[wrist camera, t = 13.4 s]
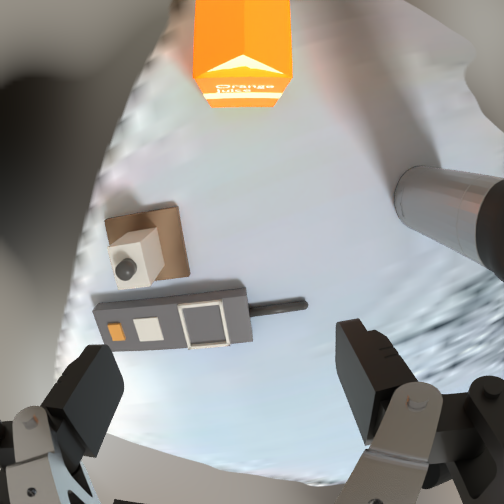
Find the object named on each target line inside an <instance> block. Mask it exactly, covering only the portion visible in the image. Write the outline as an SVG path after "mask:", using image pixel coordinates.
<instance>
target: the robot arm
mask: <svg viewBox="0 0 504 504" xmlns="http://www.w3.org/2000/svg"><path fill="white" fill-rule="evenodd" d="M395 208H396V211H397V214H398V216H399V218H400V220H401V221H402V222H403V223H404V224H405V225H406V226H407V227H409V228H411V229H413V230H415V231H417V232H419V233H421V234H423V235H425V236H427V237H429V238H431V239H433V240H435V241H437V242H439V243H441V244H443V245H445V246H446V247H448V248H450V249H452V250H454V251H456V252H458V253H460V254H462V255H463V256H465V257H467V258H469V259H471V260H473V261H475V262H477V263H478V264H480V265H482V266H484V267H485V268H487V269H489V270H491V271H492V272H494V273H495V275H496V276H497V277H498V278H499V279H500V280H501V281H503V282H504V178H500V177H494V176H489V175H482V174H476V173H470V172H463V171H456V170H449V169H442V168H435V167H426V166H417V167H413V168H411V169H410V170H408V171H407V172H406V173H405V174H404V175H403V176H402V177H401V179H400V180H399V182H398V185H397V187H396V191H395ZM335 361H336V369H337V374H338V377H339V379H340V382H341V384H342V387H343V389H344V392H345V394H346V397H347V400H348V402H349V405H350V407H351V410H352V412H353V415H354V418H355V420H356V423H357V425H358V428H359V431H360V433H361V436H362V439H363V441H364V444H365V446H366V445H370V444H371V445H370V447H369V449H365V451H364V452H363V454H362V455H361V457H360V459H359V461H358V463H357V464H356V466H355V468H354V470H353V472H352V473H351V475H350V477H349V479H348V480H347V482H346V484H345V486H344V487H343V489H342V491H341V492H340V494H339V496H338V497H337V499H336V500H335V502H334V504H415V503H416V501H417V498H418V496H419V493H420V490H421V488H422V485H423V482H424V479H425V476H426V473H427V470H428V466H429V464H437V463H446V465H447V467H448V470H449V472H450V474H451V476H452V479H453V481H454V483H455V485H456V488H457V490H458V492H459V495H460V497H461V500H462V502H463V504H504V380H503V379H501V378H499V377H495V376H483V377H479V378H477V379H476V380H474V381H473V382H472V384H471V386H470V388H469V391H468V392H466V393H456V394H441V393H440V391H439V390H438V389H437V388H436V387H434V386H432V385H431V384H428V383H424V382H418V381H417V379H416V378H415V376H414V375H413V373H412V372H411V370H410V369H409V367H408V366H407V365H406V363H405V362H404V360H403V359H402V357H401V356H400V355H399V354H398V352H397V350H396V349H395V348H393V345H392V343H391V342H390V341H389V339H388V338H387V336H385V335H383V334H382V333H380V332H378V331H376V330H371V331H367V330H366V328H365V327H364V325H363V324H362V322H361V321H360V319H358V318H357V319H352V320H346V321H341V322H337V323H336V355H335ZM123 392H124V381H123V377H122V375H121V373H120V370H119V368H118V366H117V363H116V361H115V358H114V356H113V353H112V351H111V349H110V347H109V346H108V345H106V344H104V345H88V346H87V347H86V348H85V349H84V351H83V352H82V353H81V355H80V356H79V358H77V359H76V360H74V361H73V362H72V363H71V364H69V365H68V366H67V368H66V369H65V371H64V372H63V373H62V376H60V378H59V379H58V381H57V383H55V385H54V386H53V388H52V389H51V391H50V392H49V394H48V395H47V397H46V398H45V400H44V401H43V403H42V404H41V406H30V407H27V408H25V409H23V410H21V411H20V412H19V413H18V414H17V415H16V416H15V418H14V420H13V421H5V422H1V420H0V468H1V470H0V504H101V503H100V501H99V499H98V497H97V495H96V492H95V490H94V488H93V486H92V483H91V480H90V478H89V476H88V473H87V470H86V468H85V466H84V464H83V463H82V461H81V459H82V457H83V456H89V457H95V458H96V457H97V454H98V452H99V449H100V447H101V444H102V442H103V439H104V437H105V435H106V432H107V430H108V427H109V425H110V423H111V420H112V418H113V416H114V413H115V411H116V409H117V406H118V404H119V402H120V399H121V397H122V395H123ZM113 504H143V503H135V502H128V501H123V500H117V499H114V503H113Z"/></svg>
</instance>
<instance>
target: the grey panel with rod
mask: <svg viewBox="0 0 504 504" xmlns="http://www.w3.org/2000/svg"><path fill="white" fill-rule="evenodd" d="M307 307H308V303H307V302H306V301H300V302H293V303H286V304H278V305H271V306H263V307H256V308H249V306H248V299H247V292H246V288H240V289H232V290H223V291H215V292H206V293H198V294H189V295H179V296H170V297H160V298H151V299H140V300H130V301H119V302H108V303H99V304H98V305H97V306H96V307H95V308H94V310H93V314H94V317H95V320H96V323H97V326H98V328H99V331H100V334H101V336H102V339H103V342H104V344H106V345H108V346H109V347H110V349H111V351H112V352H115V351H144V350H163V349H178V348H188V349H201V348H212V347H223V346H230V344H234V343H243V342H252V341H253V334H252V326H251V320H250V317H254V316H262V315H270V314H277V313H284V312H291V311H298V310H305V309H307Z"/></svg>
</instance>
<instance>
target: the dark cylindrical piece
mask: <svg viewBox="0 0 504 504" xmlns="http://www.w3.org/2000/svg"><path fill="white" fill-rule="evenodd" d="M451 479H452V476H451V474H450V472H449V470H448V467H447V465H446V463H437V464H429V466H428V470H427V473H426V476H425V479H424V482H423V485H422V488H423V489H430V488H432V487H435V486H437V485H440V484H442V483H444V482H447V481H449V480H451Z"/></svg>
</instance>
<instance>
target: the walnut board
mask: <svg viewBox="0 0 504 504" xmlns="http://www.w3.org/2000/svg"><path fill="white" fill-rule="evenodd" d="M104 222H105V227H106V231H107V236H108V240H109V245H111V244H112V243H114V242H115V241H116V240H118V239H119V238H121V237H122V236H123V235H125V234H126V233H128V232H132V231H137V230H143V229H149V228H155V227H157V231H158V236H159V241H160V245H161V250H162V255H163V259H164V264H165V265H164V267H163V268H162V270H161V271H160V273H159V274H158V276H157V277H156V279H155V280H154V281H157V280H165V279H174V278H182V277H189V276H190V269H189V264H188V259H187V253H186V248H185V243H184V237H183V232H182V226H181V220H180V215H179V209H178V206H177V207H171V208H165V209H159V210H153V211H147V212H141V213H136V214H130V215H125V216H119V217H114V218H109V219H106V220H104Z"/></svg>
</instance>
